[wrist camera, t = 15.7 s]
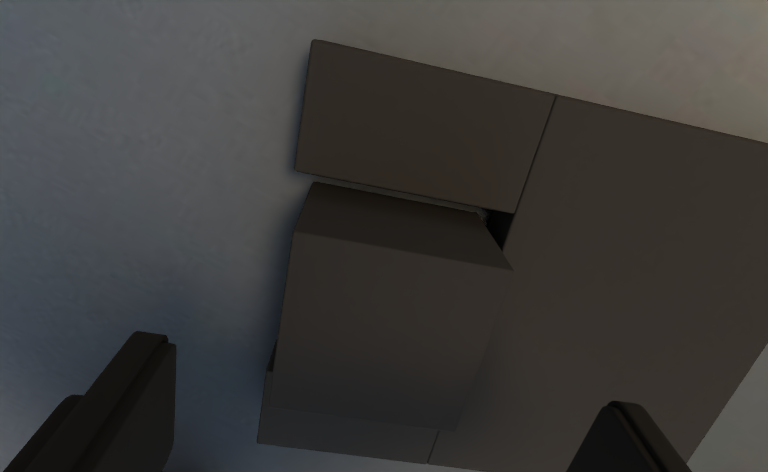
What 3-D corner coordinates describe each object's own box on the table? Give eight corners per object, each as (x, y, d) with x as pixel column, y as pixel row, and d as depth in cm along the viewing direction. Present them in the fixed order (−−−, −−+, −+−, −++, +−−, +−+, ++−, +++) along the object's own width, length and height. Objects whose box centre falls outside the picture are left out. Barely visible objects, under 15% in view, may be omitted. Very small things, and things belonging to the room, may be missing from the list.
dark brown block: (313, 180, 15) (292, 231, 11) (477, 212, 16) (515, 271, 12) (291, 322, 18) (267, 407, 13) (435, 345, 18) (454, 433, 14)
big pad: (319, 39, 14) (311, 38, 12) (824, 156, 16) (885, 171, 14) (266, 405, 19) (256, 443, 17) (640, 455, 21) (666, 494, 19)
